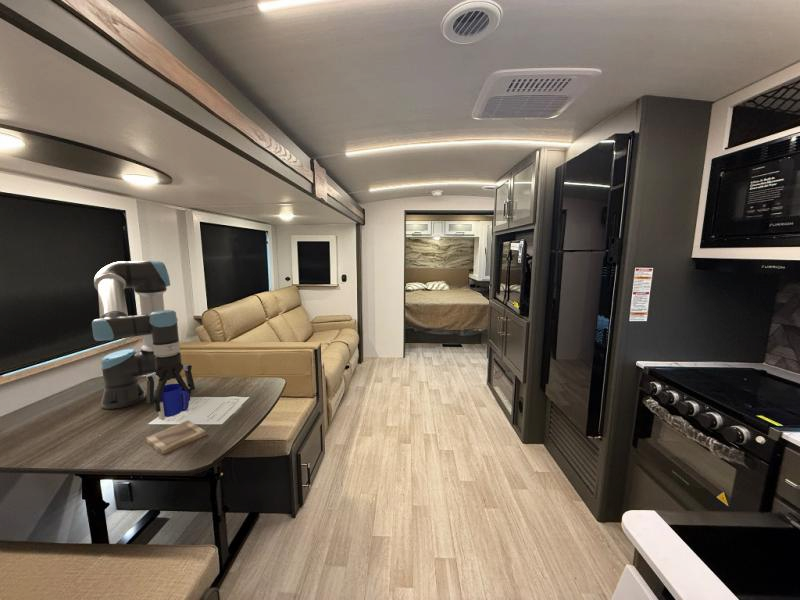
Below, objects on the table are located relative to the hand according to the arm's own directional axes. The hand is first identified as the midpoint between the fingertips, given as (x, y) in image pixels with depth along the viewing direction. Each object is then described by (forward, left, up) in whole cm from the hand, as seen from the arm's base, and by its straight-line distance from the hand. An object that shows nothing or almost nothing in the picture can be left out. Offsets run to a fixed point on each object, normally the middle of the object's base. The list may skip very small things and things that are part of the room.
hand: (174, 414), depth 113 cm
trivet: (0, 0, -9) cm, 9 cm away
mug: (0, +1, 0) cm, 1 cm away
